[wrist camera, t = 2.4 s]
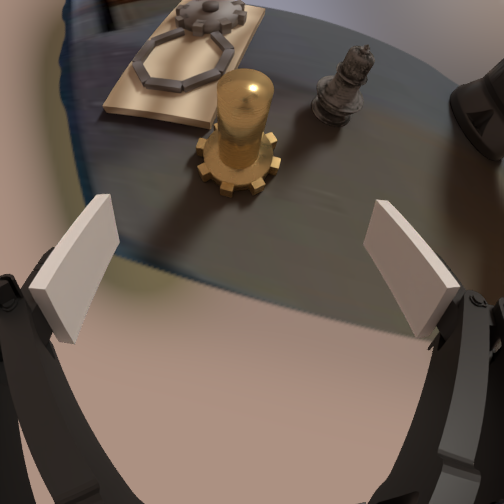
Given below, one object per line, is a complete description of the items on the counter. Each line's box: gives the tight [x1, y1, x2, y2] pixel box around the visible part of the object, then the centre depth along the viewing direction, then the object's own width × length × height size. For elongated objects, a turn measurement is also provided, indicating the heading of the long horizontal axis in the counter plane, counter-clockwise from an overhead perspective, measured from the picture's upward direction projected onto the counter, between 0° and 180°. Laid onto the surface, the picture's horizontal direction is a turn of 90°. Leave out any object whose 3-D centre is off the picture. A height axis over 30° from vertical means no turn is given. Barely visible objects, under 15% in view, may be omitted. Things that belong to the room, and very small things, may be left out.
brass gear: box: [196, 69, 281, 198], centre depth 24 cm, size 9×9×12 cm
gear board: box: [103, 0, 265, 130], centre depth 30 cm, size 14×26×4 cm, turn 165°
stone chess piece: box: [312, 45, 375, 127], centre depth 26 cm, size 6×6×12 cm
